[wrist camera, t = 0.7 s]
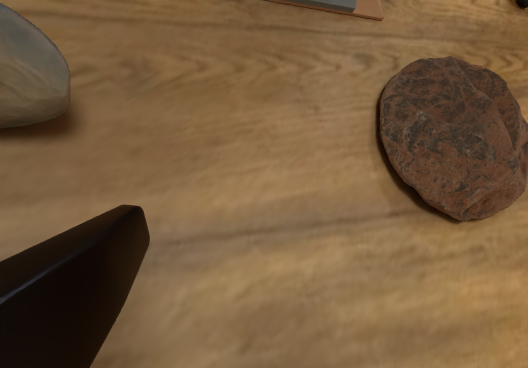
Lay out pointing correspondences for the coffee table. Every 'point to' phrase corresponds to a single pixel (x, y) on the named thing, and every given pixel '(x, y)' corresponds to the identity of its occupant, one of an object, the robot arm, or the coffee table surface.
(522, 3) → the action figure
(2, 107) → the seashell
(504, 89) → the rock
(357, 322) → the coffee table surface
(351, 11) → the alarm clock
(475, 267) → the coffee table surface
